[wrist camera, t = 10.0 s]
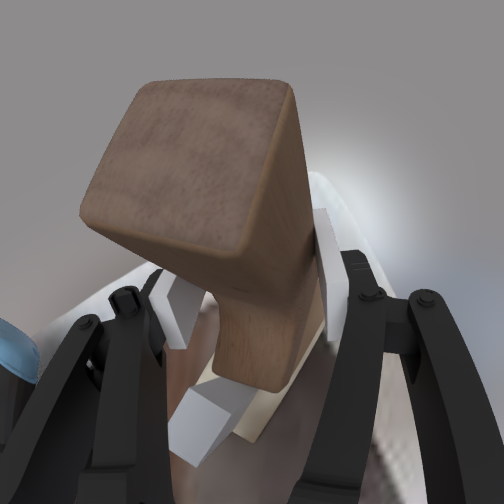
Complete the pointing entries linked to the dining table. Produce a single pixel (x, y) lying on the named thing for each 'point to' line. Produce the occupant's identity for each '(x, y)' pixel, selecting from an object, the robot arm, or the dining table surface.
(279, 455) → the dining table surface
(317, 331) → the base board
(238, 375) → the wooden block
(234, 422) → the grey pillar
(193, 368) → the dining table surface
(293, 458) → the dining table surface
